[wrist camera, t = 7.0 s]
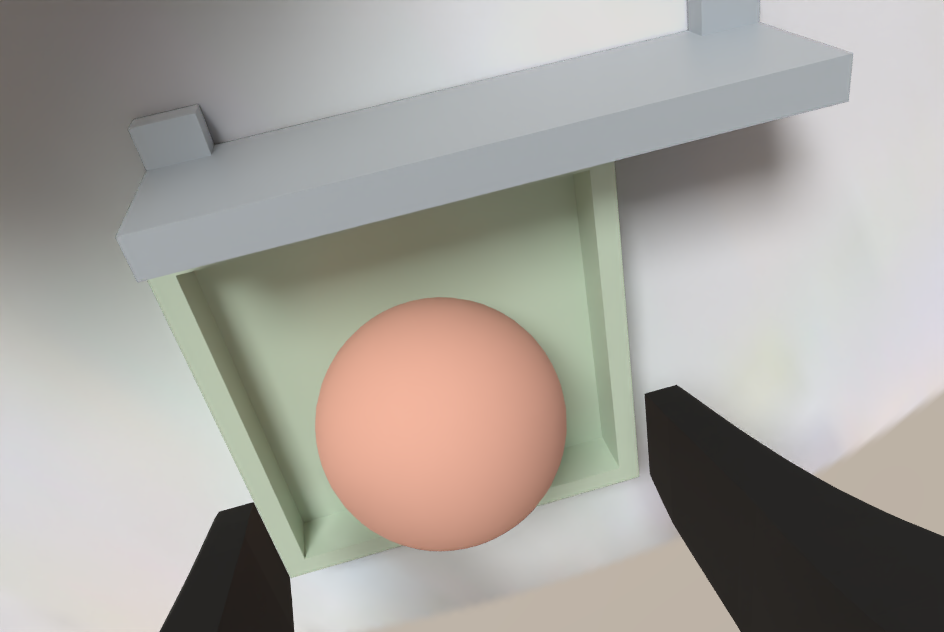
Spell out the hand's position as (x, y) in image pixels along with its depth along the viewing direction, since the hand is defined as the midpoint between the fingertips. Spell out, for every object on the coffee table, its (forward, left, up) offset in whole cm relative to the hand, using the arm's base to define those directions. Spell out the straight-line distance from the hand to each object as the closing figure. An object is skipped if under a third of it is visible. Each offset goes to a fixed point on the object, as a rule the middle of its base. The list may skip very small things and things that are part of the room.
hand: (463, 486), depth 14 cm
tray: (0, 0, -5) cm, 5 cm away
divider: (-2, -5, -5) cm, 7 cm away
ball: (0, 0, -2) cm, 2 cm away
